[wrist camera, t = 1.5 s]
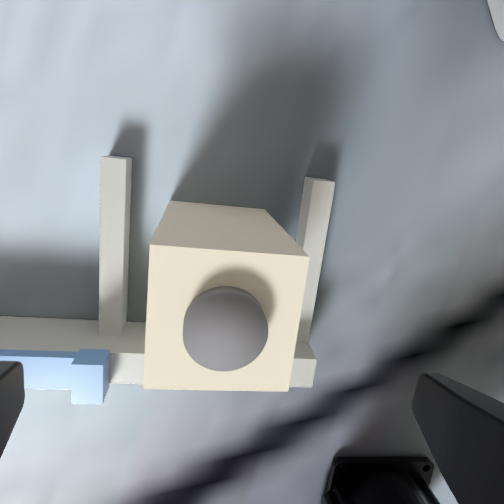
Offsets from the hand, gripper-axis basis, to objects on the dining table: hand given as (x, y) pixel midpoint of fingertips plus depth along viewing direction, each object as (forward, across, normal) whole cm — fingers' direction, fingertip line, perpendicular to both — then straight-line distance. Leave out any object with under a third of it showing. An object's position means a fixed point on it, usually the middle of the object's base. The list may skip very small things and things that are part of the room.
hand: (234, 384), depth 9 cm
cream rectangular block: (+11, 0, 0) cm, 11 cm away
